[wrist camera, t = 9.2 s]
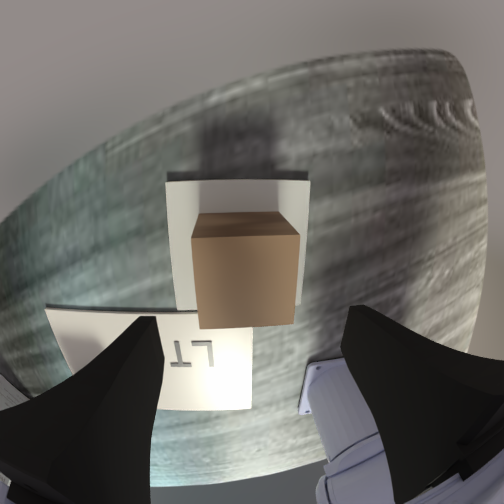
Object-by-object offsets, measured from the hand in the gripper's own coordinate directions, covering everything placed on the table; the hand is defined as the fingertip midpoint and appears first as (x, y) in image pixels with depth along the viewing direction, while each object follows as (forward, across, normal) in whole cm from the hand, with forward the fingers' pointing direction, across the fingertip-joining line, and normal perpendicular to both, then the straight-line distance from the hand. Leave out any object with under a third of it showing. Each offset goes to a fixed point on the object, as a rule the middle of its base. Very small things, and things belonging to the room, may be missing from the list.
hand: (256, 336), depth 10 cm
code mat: (+9, +8, +11) cm, 16 cm away
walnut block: (+9, 0, 0) cm, 9 cm away
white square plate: (+9, 0, 0) cm, 9 cm away
